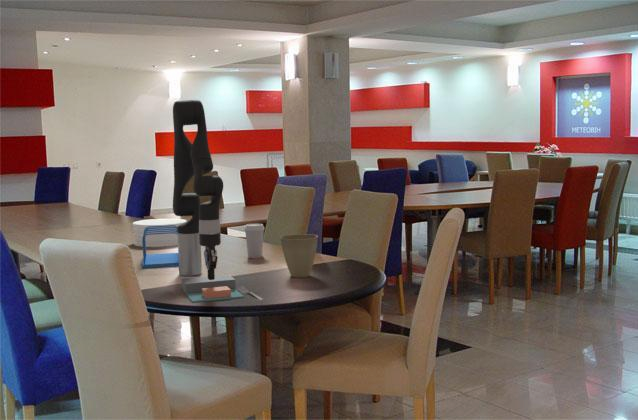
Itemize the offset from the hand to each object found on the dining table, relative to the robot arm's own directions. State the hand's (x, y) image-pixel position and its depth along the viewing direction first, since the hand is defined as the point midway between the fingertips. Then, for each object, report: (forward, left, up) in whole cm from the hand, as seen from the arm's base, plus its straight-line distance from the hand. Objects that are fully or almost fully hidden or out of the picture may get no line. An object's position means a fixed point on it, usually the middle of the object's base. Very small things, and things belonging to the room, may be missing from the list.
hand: (211, 279), depth 250 cm
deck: (-6, 0, -5) cm, 8 cm away
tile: (+7, 0, -3) cm, 8 cm away
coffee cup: (-66, +34, -5) cm, 74 cm away
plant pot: (-16, +39, -5) cm, 42 cm away
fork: (+10, +13, -6) cm, 17 cm away
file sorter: (-70, -8, -5) cm, 71 cm away
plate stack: (-129, -1, -5) cm, 129 cm away
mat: (+5, 0, -5) cm, 7 cm away
